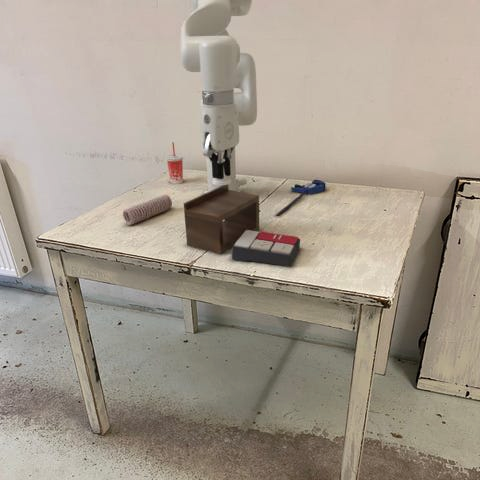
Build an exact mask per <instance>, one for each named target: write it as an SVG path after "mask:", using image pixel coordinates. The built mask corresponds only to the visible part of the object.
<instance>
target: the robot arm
mask: <svg viewBox="0 0 480 480" xmlns="http://www.w3.org/2000/svg"><path fill="white" fill-rule="evenodd" d="M252 2H253V0H189V5H190V9H191V13H190V14H189V15H188V16H187V17H186V18H185V20H184V21H183V23H182V25H181V29H180V35H179V56H180V61H181V65H182V67H183V69H185V70H186V71H187V72H190V73H200V83H201V100H200V104H199V110H200V115H201V144H202V149H203V154H202V155H203V157H205V161H206V162H205V163H206V176H207V189H205V190H204V191H203V194H205V193H207V192H209V191H211V190H214V189H216V188H218V187H220V186H222V185H215V184H213V183H212V182H213V179H214V178H218V179H223V178H224V173H225V175H226V177H229V178H230V179H231V183H230V184H228V190H232V191H238V192H242V190H241V189H240V187H241V186H245V185H247V183H248V181H247V179H246V178H241V179H239V178H237V166H236V164H237V163H236V146H238V144H239V143H240V126H243V127H244V126H251V125H254V124H255V123H256V121H257V118H258V95H257V94H258V93H257V71H256V63H255V59H254V57H253V56H252V55H251V54H249V53H247V52H241V46H240V44H239V43H238V41H237V40H236V38H235V37H233V36H231V35H230V33H229V31H228V30H227V28H228V27H229V25H230V24H231V21H232V17H243V16H246V15H248V14H249V13H250V10H251V7H252ZM235 89H239V90H240V91H239V92H236V91H235ZM224 150H225V152H224V156H223V159H225V161H224V162H223V163H221V161H222V158H221V151H224ZM223 166H224V170H223Z"/></svg>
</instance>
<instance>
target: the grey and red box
mask: <svg viewBox="0 0 480 480" xmlns="http://www.w3.org/2000/svg"><path fill="white" fill-rule="evenodd" d="M300 246H301V238H299V237H298V236H294V235H289V234H282V233H275V232H267V231H250V230H246V231H244V232H243V233H242V235H241V236H240V237H239V238H238V240H237V241H236V242H235V243H234V245H233V246H232V247H231V259H232V260H233V261H234V260H235V261H240V262H246V263H247V262H249V261H253V262H259V263H265V264H272V265H277V266H283V267H291V266H292V264H293V263H294V260H295V258H296V256H297V254H298V253H299V250H300Z"/></svg>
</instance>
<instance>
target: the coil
mask: <svg viewBox="0 0 480 480" xmlns="http://www.w3.org/2000/svg"><path fill="white" fill-rule="evenodd" d="M172 207H173V200H172V199H171V197H170V195H169V194H163V195H160V196H157V197H154V198H152V199H150V200H147V201H144V202H142V203H139V204H137V205H133V206H131V207H128V208H126V209H124V210H123V211H122V217H123V220H124V221H125V222H126V223H125V224H126V226H132V225H134V224H137V223H139V222H142V221H144V220H147V219H149V218H151V217H153V216H156V215H158V214H161V213H164V212H165V211H169V210H170V209H172Z"/></svg>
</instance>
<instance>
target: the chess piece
mask: <svg viewBox="0 0 480 480" xmlns="http://www.w3.org/2000/svg"><path fill="white" fill-rule="evenodd" d="M224 152H225V150H224V151H221V158H222V161H221V163H223V162H224V161H225V159H223V156H224ZM223 170H224V166H223ZM212 183H213V184H215V185H227V184H230V183H231V179H230V178H229V177H226V175H225V173H224V178H223V179H218V178H214V179H213V182H212Z"/></svg>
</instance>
